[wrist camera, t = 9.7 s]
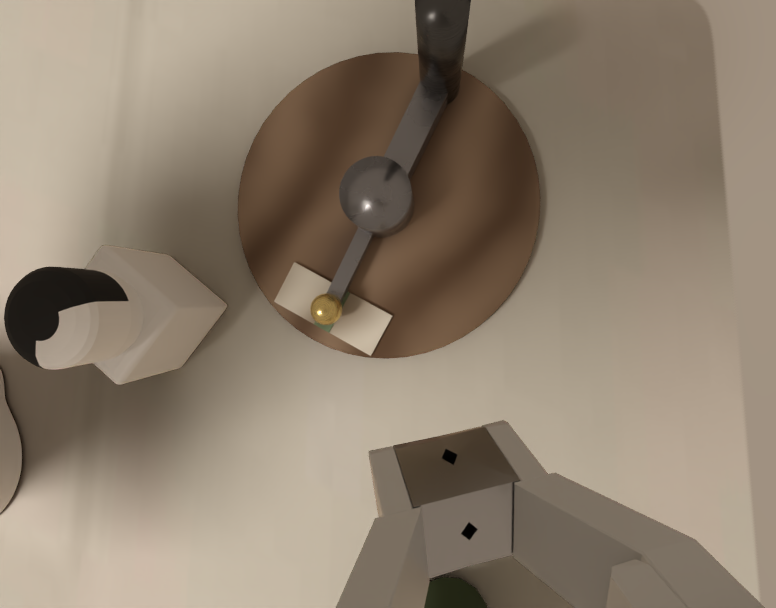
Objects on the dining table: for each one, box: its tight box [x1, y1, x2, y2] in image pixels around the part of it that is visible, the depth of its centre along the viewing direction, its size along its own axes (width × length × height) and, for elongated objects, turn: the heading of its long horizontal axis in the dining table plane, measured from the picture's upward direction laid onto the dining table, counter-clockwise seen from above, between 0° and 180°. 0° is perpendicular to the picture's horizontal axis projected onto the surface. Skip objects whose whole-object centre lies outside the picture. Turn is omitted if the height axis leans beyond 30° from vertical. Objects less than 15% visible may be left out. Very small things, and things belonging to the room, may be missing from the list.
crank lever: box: [310, 0, 471, 325], centre depth 27 cm, size 5×22×9 cm, turn 159°
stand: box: [238, 52, 540, 358], centre depth 32 cm, size 24×24×1 cm
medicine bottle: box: [4, 245, 227, 385], centre depth 29 cm, size 7×7×12 cm
